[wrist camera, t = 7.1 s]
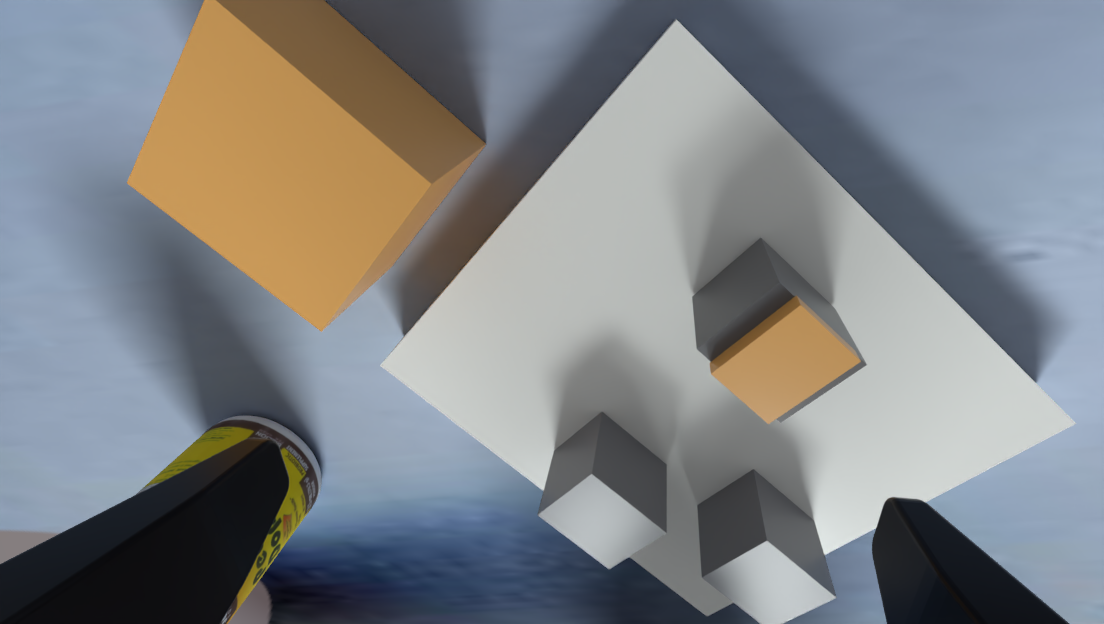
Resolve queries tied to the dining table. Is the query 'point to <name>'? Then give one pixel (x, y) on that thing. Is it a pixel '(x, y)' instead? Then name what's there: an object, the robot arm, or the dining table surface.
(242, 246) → the orange block
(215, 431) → the supplement bottle
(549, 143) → the dining table surface
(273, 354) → the dining table surface
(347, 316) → the dining table surface
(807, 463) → the board
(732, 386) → the block
